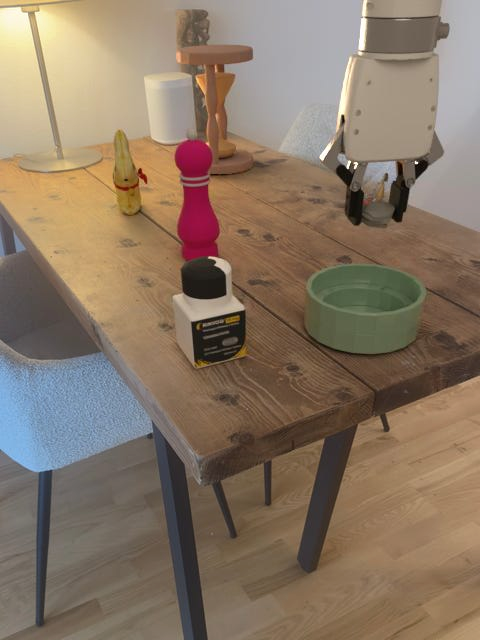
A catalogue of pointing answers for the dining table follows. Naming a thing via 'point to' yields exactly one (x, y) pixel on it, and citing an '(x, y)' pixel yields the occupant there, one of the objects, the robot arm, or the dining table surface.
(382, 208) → the figurine
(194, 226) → the pepper mill
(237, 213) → the dining table surface
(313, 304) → the bowl
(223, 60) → the hourglass
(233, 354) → the medicine bottle
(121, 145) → the chocolate bunny
